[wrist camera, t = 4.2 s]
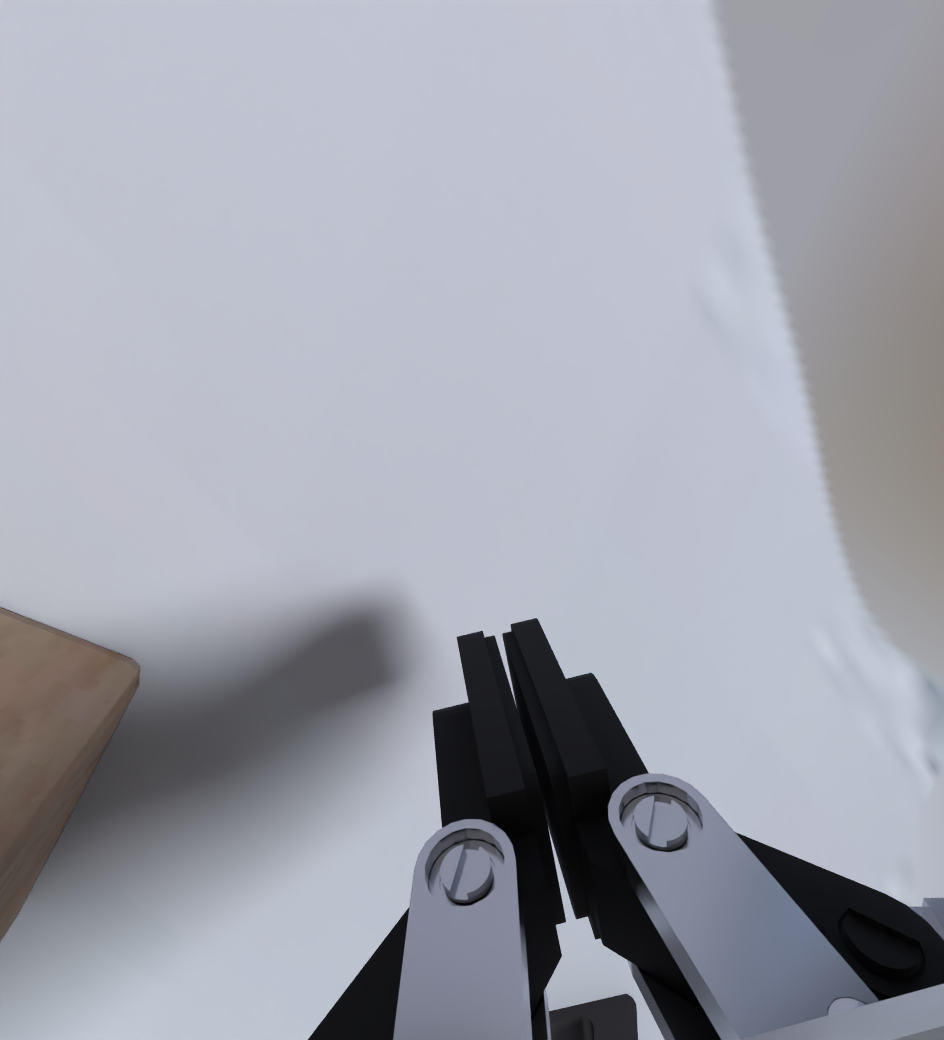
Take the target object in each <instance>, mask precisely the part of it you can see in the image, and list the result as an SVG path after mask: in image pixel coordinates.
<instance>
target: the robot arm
mask: <svg viewBox="0 0 944 1040" xmlns="http://www.w3.org/2000/svg"><path fill="white" fill-rule="evenodd" d="M457 641H458V647H459V652H460V657H461V663H462V668H463V674H464V679H465V684H466V690H467V695H468V701H469V702H468V703H464V704H460V705H456V706H452V707H448V708H444V709H439V710H435V711H433V727H434V738H435V750H436V762H437V773H438V785H439V796H440V808H441V819H442V829H440V830H438V831H437V832H436V833H435V834H434V835H433V836H432V837H431V838H430V839H429V840H428V841H427V842H426V843H425V845H424V847H423V848H422V850H421V851H420V853H419V855H418V858H417V861H416V865H415V869H414V874H413V882H412V891H411V899H410V907H409V908H408V909H407V911H406V912H405V913H404V915H403V916H402V917H401V919H400V920H399V921H398V922H397V924H396V925H395V926H394V928H393V929H392V930H391V932H390V933H389V934H388V936H387V937H386V938H385V939H384V941H383V942H382V943H381V945H380V946H379V947H378V949H377V950H376V951H375V953H374V954H373V955H372V956H371V958H370V959H369V960H368V962H367V963H366V964H365V966H364V967H363V968H362V970H361V971H360V972H359V973H358V975H357V976H356V977H355V979H354V980H353V981H352V983H351V984H350V985H349V987H348V988H347V989H346V991H345V992H344V993H343V994H342V996H341V997H340V998H339V1000H338V1001H337V1002H336V1004H335V1005H334V1006H333V1008H332V1009H331V1010H330V1011H329V1013H328V1014H327V1015H326V1017H325V1018H324V1019H323V1021H322V1022H321V1023H320V1025H319V1026H318V1027H317V1028H316V1030H315V1031H314V1032H313V1034H312V1035H311V1036H310V1038H309V1039H308V1040H551V1030H550V1019H549V1008H548V999H547V994H546V990H545V988H546V986H547V984H548V982H549V980H550V978H551V976H552V974H553V972H554V970H555V968H556V966H557V964H558V963H559V961H560V959H561V957H562V954H561V949H560V944H559V940H558V935H557V930H556V925H557V924H561V923H564V922H566V919H565V913H564V908H563V903H562V898H561V893H560V887H559V882H558V877H557V872H556V866H555V861H554V856H553V851H552V845H551V840H550V835H549V830H550V834H551V837H552V840H553V844H554V847H555V851H556V854H557V857H558V861H559V864H560V867H561V871H562V874H563V878H564V881H565V884H566V888H567V891H568V894H569V898H570V901H571V905H572V908H573V911H574V914H575V917H576V919H579V918H583V917H587V916H588V918H589V921H590V924H591V927H592V930H593V934H594V937H595V939H599V938H601V940H602V943H603V945H604V946H606V947H607V948H609V949H610V950H612V951H614V952H615V953H617V954H619V955H620V956H622V957H623V958H625V959H627V961H628V964H629V967H630V969H631V972H632V975H633V977H634V979H635V981H636V983H637V985H638V987H639V989H640V991H641V993H642V995H643V997H644V999H645V1001H646V1003H647V1005H648V1007H649V1009H650V1011H651V1013H652V1015H653V1017H654V1019H655V1021H656V1023H657V1025H658V1027H659V1029H660V1031H661V1033H662V1035H663V1037H664V1039H665V1040H944V898H924V899H923V905H922V907H908V906H907V905H905V904H903V903H901V902H899V901H898V900H896V899H894V898H892V897H890V896H888V895H886V894H884V893H882V892H879V891H877V890H875V889H872V888H870V887H867V886H865V885H862V884H860V883H857V882H855V881H853V880H850V879H848V878H845V877H843V876H840V875H838V874H836V873H833V872H831V871H828V870H826V869H823V868H821V867H819V866H816V865H814V864H811V863H809V862H806V861H804V860H802V859H799V858H797V857H794V856H792V855H789V854H787V853H785V852H782V851H780V850H777V849H775V848H772V847H770V846H767V845H765V844H763V843H760V842H758V841H755V840H753V839H750V838H748V837H746V836H743V835H741V834H738V833H736V832H734V831H733V829H732V828H731V827H730V826H729V825H728V824H727V822H726V821H725V820H724V819H723V818H722V817H721V815H720V814H719V813H718V812H717V811H716V810H715V808H714V807H713V806H712V805H711V804H710V803H709V801H708V800H707V799H706V798H705V797H704V796H703V795H702V794H701V793H700V792H699V791H698V790H697V789H695V788H694V787H693V786H692V785H690V784H688V783H687V782H685V781H683V780H681V779H679V778H677V777H673V776H669V775H665V774H649V773H648V771H647V769H646V767H645V765H644V764H643V762H642V760H641V758H640V756H639V755H638V753H637V751H636V749H635V747H634V746H633V744H632V742H631V740H630V738H629V737H628V735H627V733H626V731H625V729H624V728H623V726H622V724H621V722H620V720H619V718H618V717H617V715H616V713H615V711H614V709H613V708H612V706H611V704H610V702H609V700H608V699H607V697H606V695H605V693H604V691H603V690H602V688H601V686H600V684H599V682H598V681H597V679H596V677H595V676H594V674H592V673H588V674H584V675H580V676H576V677H572V678H568V679H565V677H564V674H563V672H562V670H561V668H560V666H559V664H558V662H557V659H556V657H555V655H554V653H553V651H552V649H551V647H550V644H549V642H548V640H547V638H546V636H545V634H544V632H543V629H542V627H541V625H540V623H539V621H538V619H537V618H535V619H531V620H527V621H522V622H518V623H514V624H511V632H507V633H503V641H504V646H505V651H506V656H507V661H508V666H509V671H510V676H511V681H512V686H513V691H514V696H515V701H516V704H515V701H514V698H513V695H512V691H511V688H510V685H509V681H508V678H507V675H506V672H505V668H504V665H503V662H502V658H501V655H500V652H499V649H498V645H497V642H496V639H495V636H490V637H486V638H484V634H483V631H480V632H476V633H471V634H467V635H463V636H459V637H457ZM516 706H517V708H516ZM548 827H549V830H548Z"/></svg>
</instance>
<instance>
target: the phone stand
mask: <svg viewBox="0 0 944 1040" xmlns="http://www.w3.org/2000/svg"><path fill="white" fill-rule="evenodd" d="M549 1019H550V1030H551V1040H638V1032H637V1011H636V1003H635V1001H634V999H633V998H632V997H631V996H629V995H627V994H623V995H619V996H614V997H610V998H605V999H601V1000H597V1001H592V1002H588V1003H584V1004H579V1005H575V1006H571V1007H566V1008H562V1009H558V1010H553V1011H549Z"/></svg>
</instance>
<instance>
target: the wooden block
mask: <svg viewBox="0 0 944 1040" xmlns="http://www.w3.org/2000/svg"><path fill="white" fill-rule="evenodd" d="M139 673H140V666H139V665H138V664H137V663H136V662H135V661H133V660H132V659H131V658H128V657H126V656H123V655H121V654H118V653H116V652H113V651H110V650H108V649H105V648H103V647H100V646H98V645H95V644H92V643H90V642H87V641H85V640H82V639H80V638H77V637H74V636H72V635H69V634H67V633H64V632H62V631H59V630H57V629H54V628H51V627H49V626H46V625H44V624H41V623H39V622H36V621H33V620H31V619H28V618H26V617H23V616H21V615H18V614H15V613H13V612H10V611H8V610H5V609H3V608H0V942H1V940H2V939H3V937H4V935H5V934H6V932H7V931H8V929H9V928H10V926H11V925H12V923H13V921H14V920H15V918H16V917H17V915H18V914H19V912H20V910H21V908H22V906H23V904H24V902H25V901H26V899H27V897H28V895H29V893H30V891H31V889H32V887H33V885H34V883H35V881H36V880H37V878H38V876H39V874H40V872H41V870H42V868H43V866H44V864H45V862H46V861H47V859H48V857H49V855H50V853H51V851H52V849H53V847H54V845H55V843H56V842H57V840H58V838H59V836H60V834H61V832H62V830H63V828H64V826H65V824H66V823H67V821H68V819H69V817H70V815H71V813H72V811H73V809H74V807H75V805H76V804H77V802H78V800H79V798H80V796H81V794H82V792H83V790H84V788H85V786H86V784H87V783H88V781H89V779H90V777H91V775H92V773H93V771H94V769H95V767H96V765H97V764H98V762H99V760H100V758H101V756H102V754H103V752H104V750H105V748H106V746H107V745H108V743H109V741H110V739H111V737H112V735H113V733H114V731H115V729H116V727H117V726H118V724H119V722H120V720H121V718H122V716H123V714H124V712H125V710H126V708H127V707H128V705H129V703H130V701H131V699H132V697H133V695H134V693H135V691H136V689H137V687H138V686H139Z"/></svg>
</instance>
